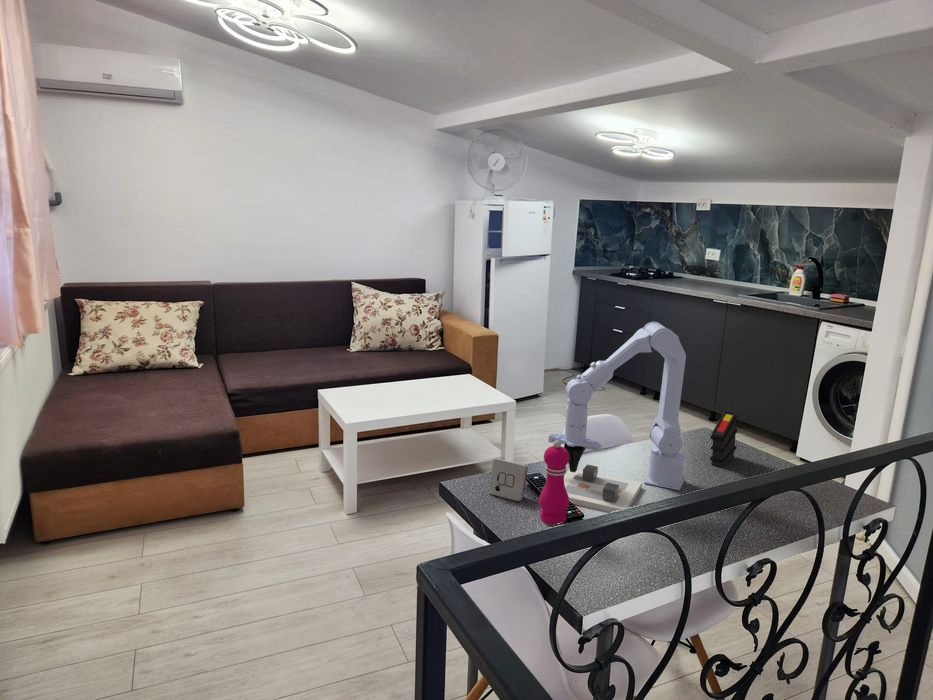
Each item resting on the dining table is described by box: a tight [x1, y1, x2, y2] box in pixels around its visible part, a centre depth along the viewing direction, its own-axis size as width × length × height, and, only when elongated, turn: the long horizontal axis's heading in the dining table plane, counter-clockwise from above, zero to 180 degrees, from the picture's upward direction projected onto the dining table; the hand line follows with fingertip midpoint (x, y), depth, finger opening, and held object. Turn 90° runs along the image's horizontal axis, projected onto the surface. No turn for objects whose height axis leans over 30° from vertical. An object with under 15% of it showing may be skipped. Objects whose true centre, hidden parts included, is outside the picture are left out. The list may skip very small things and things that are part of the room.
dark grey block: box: [582, 464, 599, 481], centre depth 178 cm, size 3×4×3 cm
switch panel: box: [564, 468, 643, 513], centre depth 173 cm, size 20×18×2 cm
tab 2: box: [602, 483, 619, 501], centre depth 166 cm, size 3×4×3 cm
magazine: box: [709, 410, 739, 468], centre depth 195 cm, size 4×13×15 cm, turn 140°
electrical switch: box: [488, 458, 529, 502], centre depth 171 cm, size 9×5×9 cm, turn 60°
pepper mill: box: [538, 440, 570, 525], centre depth 157 cm, size 7×7×20 cm
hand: (573, 470), depth 180 cm, fingers closed
